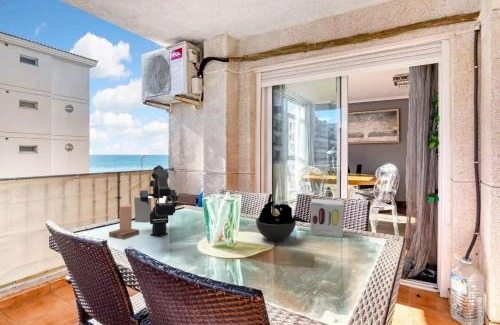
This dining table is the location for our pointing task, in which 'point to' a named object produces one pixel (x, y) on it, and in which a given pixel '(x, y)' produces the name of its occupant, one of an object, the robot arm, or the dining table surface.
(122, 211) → the terracotta block
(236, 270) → the dining table surface
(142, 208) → the skincare box
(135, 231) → the walnut slab
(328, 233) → the supplement box
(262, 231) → the black rounded bowl
